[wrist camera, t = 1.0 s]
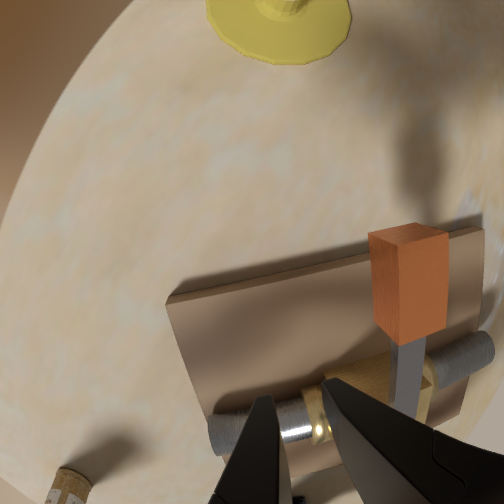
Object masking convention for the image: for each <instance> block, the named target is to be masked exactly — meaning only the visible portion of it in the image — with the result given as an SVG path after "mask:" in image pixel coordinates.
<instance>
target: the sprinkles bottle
mask: <svg viewBox="0 0 504 504" xmlns="http://www.w3.org/2000/svg"><path fill="white" fill-rule="evenodd" d="M91 489H92V486H91V484H90V483H89V481H88V480H87V479H85V478H84V477H83V476H82V475H80V474H78V473H76V472H74V471H72V470H69V469H59V470H58V471H57V472H56V477H55V479H54V482H53V484H52V487H51V489H50V491H49V493H48V496H47V499H46V501H45V504H86V502H87V498H88V494H89V492H90V491H91Z"/></svg>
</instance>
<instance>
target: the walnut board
mask: <svg viewBox="0 0 504 504" xmlns="http://www.w3.org/2000/svg"><path fill="white" fill-rule="evenodd" d="M448 234H449V283H448V304H447V318H446V328H444V329H442V330H440V331H437V332H435V333H432V334H430V335H427V336H426V345H425V353H426V354H430V353H432V352H434V351H437V350H439V349H441V348H444V347H446V346H448V345H450V344H452V343H455V342H457V341H459V340H461V339H463V338H465V337H467V336H469V335H471V334H473V333H475V332H477V331H478V324H479V316H480V308H481V298H482V287H483V272H484V240H485V232H484V229H482V228H478V227H475V226H470V227H467V228H463V229H459V230H455V231H452V232H448ZM165 306H166V310H167V313H168V316H169V319H170V322H171V325H172V328H173V331H174V334H175V337H176V340H177V343H178V346H179V349H180V352H181V355H182V358H183V361H184V363H185V366H186V369H187V372H188V374H189V377H190V380H191V382H192V385H193V388H194V390H195V393H196V396H197V398H198V401H199V403H200V406H201V408H202V411H203V413H204V416H205V418H206V421H208V416H209V415H213V414H219V413H226V412H231V411H237V410H243V409H248V408H251V407H252V405H253V403H254V400H255V398H256V397H257V396H261V395H266V394H271V395H272V396H273V400H274V403H277V402H281V401H285V400H289V399H294V398H298V397H301V396H300V388H304V387H308V386H312V385H316V384H319V383H322V381H323V373H322V371H325V370H328V369H332V368H335V367H339V366H342V365H345V364H349V363H352V362H355V361H358V360H361V359H365V358H368V357H371V356H374V355H377V354H380V353H383V352H386V351H388V350H391V338H390V337H389V336H388V335H387V334H386V333H385V332H384V331H383V330H382V329H381V328H380V327H379V326H378V325H377V324H376V323H375V322H374V311H373V290H372V275H371V262H370V252H368V253H364V254H359V255H355V256H351V257H347V258H343V259H338V260H334V261H330V262H325V263H321V264H317V265H312V266H308V267H304V268H299V269H295V270H290V271H286V272H281V273H277V274H272V275H268V276H263V277H258V278H254V279H249V280H245V281H240V282H235V283H231V284H226V285H221V286H216V287H211V288H207V289H202V290H197V291H192V292H187V293H182V294H177V295H172V296H169V297H168V299H167V302H166V304H165ZM468 378H469V376H467V377H465V378H463V379H461V380H459V381H457V382H455V383H453V384H451V385H449V386H447V387H445V388H443V389H441V390H439V391H438V395H437V397H436V399H435V400H434V401H433V402H430V403H429V408H428V413H427V417H426V422H425V425H427V426H429V427H431V428H433V427H435V426H437V425H439V424H441V423H443V422H445V421H447V420H449V419H451V418H453V417H455V416H457V415H458V414H459V413H460V409H461V406H462V402H463V399H464V395H465V391H466V387H467V383H468ZM284 447H285V451H286V456H287V460H288V465H289V471H290V478H292V477H297V476H301V475H305V474H309V473H313V472H317V471H320V470H324V469H327V468H331V467H334V466H337V465H341V464H344V463H343V461H342V459H341V457H340V455H339V452H338V449H337V447H336V444H335V441H334V439H333V440H330V441H327V442H323V443H319V444H316V445H313V444H312V442H311V439H310V438H308V439H304V440H300V441H296V442H292V443H287V444H284ZM230 456H231V454H229V455H222V458H223V460H224V462H225V464H226V465H227V462H228V460H229V458H230Z"/></svg>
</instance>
